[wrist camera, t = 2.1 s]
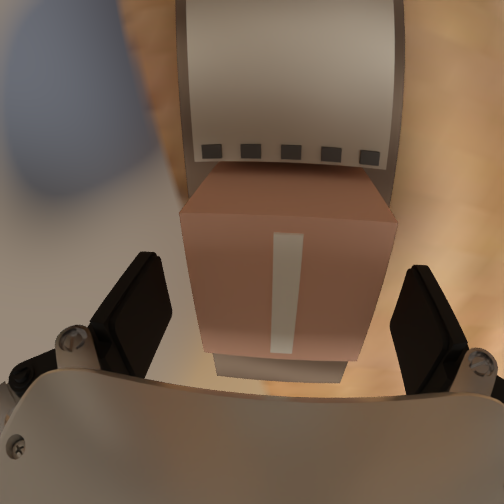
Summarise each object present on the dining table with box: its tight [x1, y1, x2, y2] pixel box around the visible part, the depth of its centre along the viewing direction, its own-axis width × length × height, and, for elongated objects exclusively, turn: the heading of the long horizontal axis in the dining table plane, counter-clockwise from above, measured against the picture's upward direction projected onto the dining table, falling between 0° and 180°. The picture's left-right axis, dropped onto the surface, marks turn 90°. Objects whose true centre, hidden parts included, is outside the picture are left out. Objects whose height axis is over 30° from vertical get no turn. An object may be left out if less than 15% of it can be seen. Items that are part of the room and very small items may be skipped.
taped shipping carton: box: [179, 161, 398, 361], centre depth 12 cm, size 6×6×6 cm
